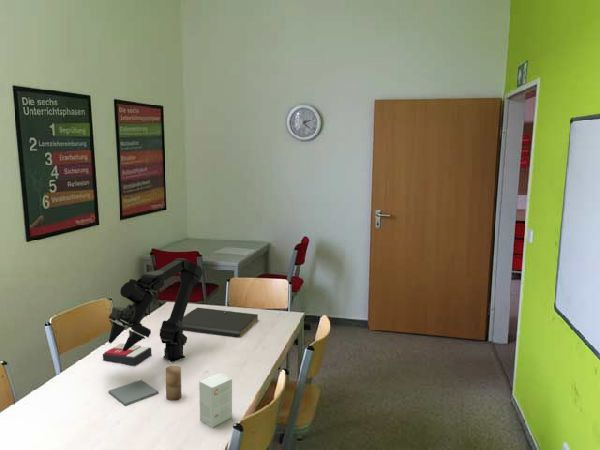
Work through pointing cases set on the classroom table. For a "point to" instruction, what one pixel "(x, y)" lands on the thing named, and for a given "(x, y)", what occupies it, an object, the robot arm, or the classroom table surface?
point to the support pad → (133, 392)
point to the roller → (173, 383)
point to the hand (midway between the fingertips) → (116, 346)
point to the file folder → (218, 322)
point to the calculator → (127, 355)
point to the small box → (215, 399)
